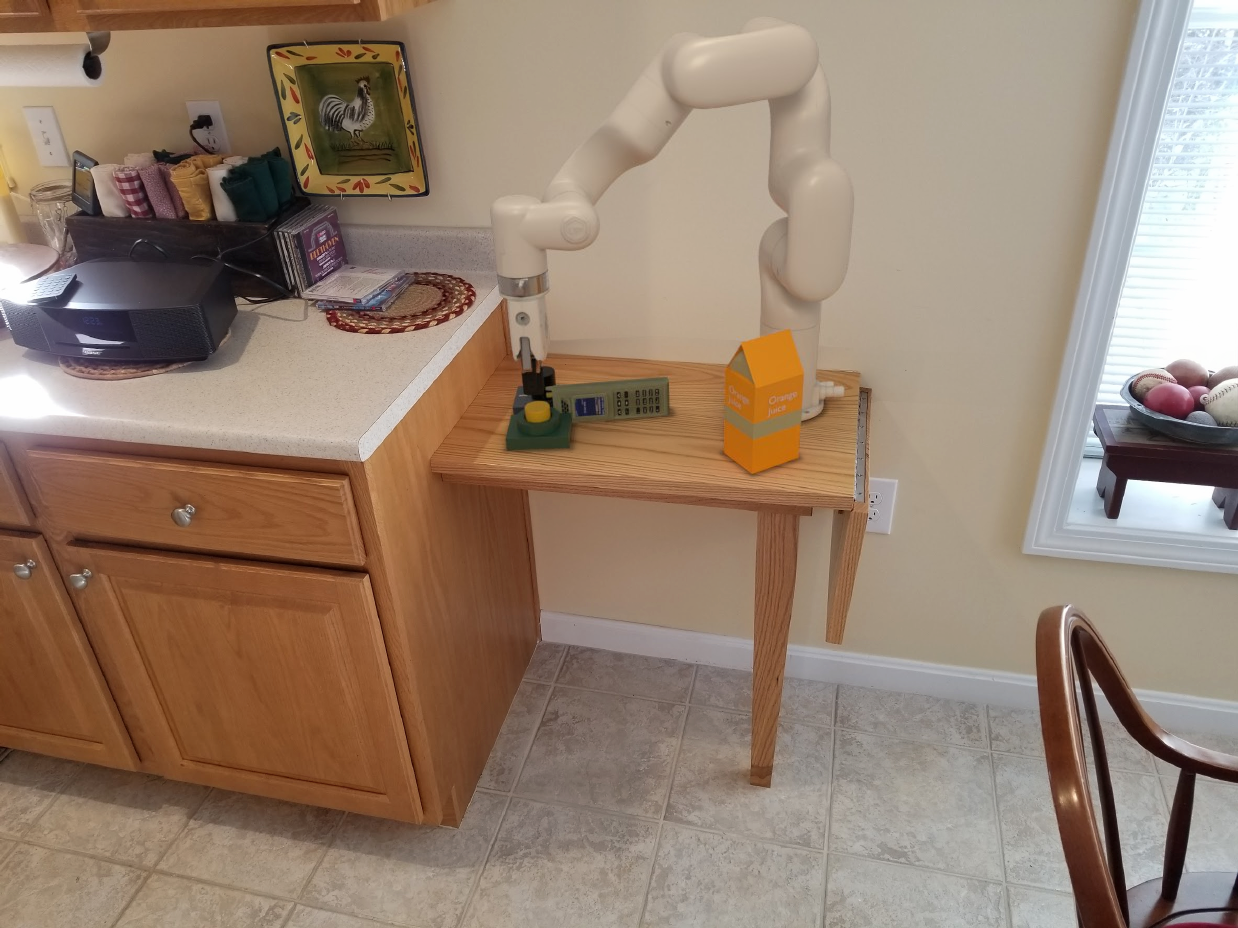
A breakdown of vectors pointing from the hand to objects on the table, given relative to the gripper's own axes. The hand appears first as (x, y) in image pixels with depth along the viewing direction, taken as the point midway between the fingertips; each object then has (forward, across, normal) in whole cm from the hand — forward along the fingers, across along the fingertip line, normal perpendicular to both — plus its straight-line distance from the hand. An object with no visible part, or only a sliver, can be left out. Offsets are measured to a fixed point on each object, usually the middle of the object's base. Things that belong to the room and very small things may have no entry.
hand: (534, 392), depth 144 cm
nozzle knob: (+6, +10, 0) cm, 12 cm away
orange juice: (+8, -8, -35) cm, 37 cm away
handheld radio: (+9, +6, -9) cm, 14 cm away
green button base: (+8, 0, 0) cm, 8 cm away
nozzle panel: (+8, +10, 0) cm, 13 cm away
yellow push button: (+5, 0, 0) cm, 5 cm away
